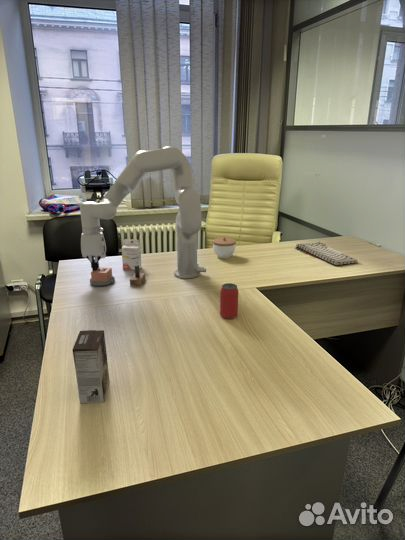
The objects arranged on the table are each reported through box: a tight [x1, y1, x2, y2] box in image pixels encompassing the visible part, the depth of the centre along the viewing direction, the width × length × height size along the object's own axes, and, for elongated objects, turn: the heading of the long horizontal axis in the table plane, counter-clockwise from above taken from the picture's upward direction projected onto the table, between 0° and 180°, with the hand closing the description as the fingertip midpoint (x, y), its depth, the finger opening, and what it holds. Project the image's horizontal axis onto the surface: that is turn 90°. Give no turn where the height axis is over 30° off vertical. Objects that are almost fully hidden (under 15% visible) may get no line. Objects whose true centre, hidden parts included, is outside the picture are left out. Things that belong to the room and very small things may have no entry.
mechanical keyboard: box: [294, 241, 359, 268], centre depth 209 cm, size 38×19×3 cm, turn 22°
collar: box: [90, 266, 113, 282], centre depth 168 cm, size 7×7×4 cm
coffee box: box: [72, 329, 110, 404], centre depth 95 cm, size 9×6×16 cm
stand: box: [129, 265, 146, 287], centre depth 168 cm, size 5×9×8 cm, turn 173°
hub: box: [89, 268, 116, 288], centre depth 169 cm, size 11×11×7 cm
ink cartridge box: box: [121, 238, 142, 271], centre depth 185 cm, size 9×5×15 cm, turn 84°
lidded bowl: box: [212, 236, 237, 259], centre depth 204 cm, size 13×13×11 cm
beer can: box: [219, 282, 239, 320], centre depth 137 cm, size 7×7×12 cm
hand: (95, 269), depth 168 cm, fingers closed
